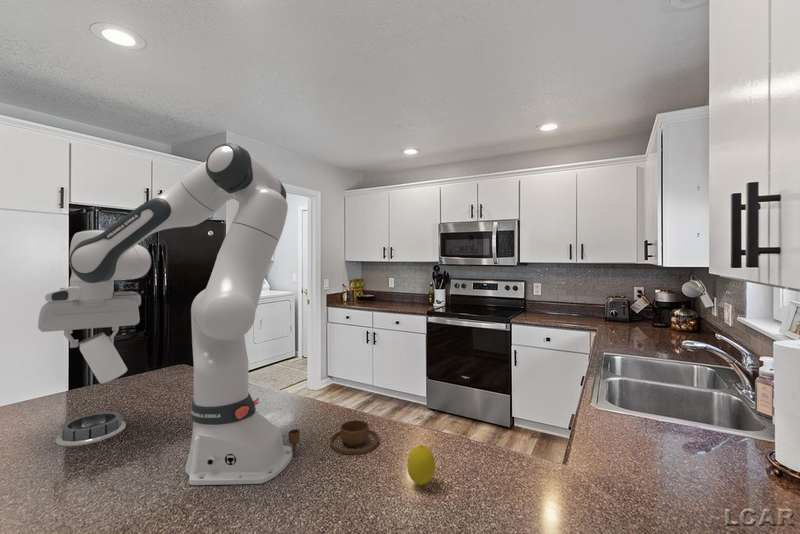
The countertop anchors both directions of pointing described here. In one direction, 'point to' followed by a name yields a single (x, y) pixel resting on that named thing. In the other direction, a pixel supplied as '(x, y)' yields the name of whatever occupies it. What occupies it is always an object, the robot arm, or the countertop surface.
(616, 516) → the countertop surface
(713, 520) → the countertop surface
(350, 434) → the place setting
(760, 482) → the countertop surface
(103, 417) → the notched rim bowl
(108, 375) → the can
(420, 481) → the lemon
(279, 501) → the countertop surface
